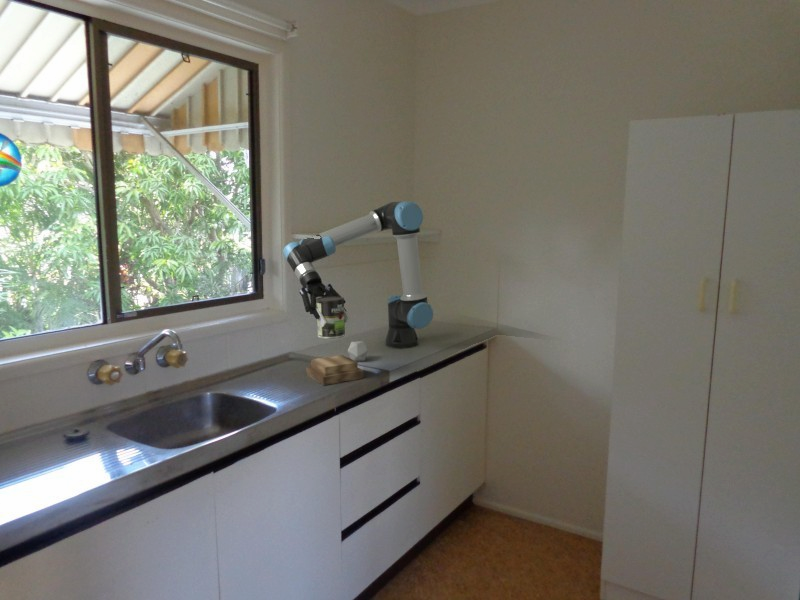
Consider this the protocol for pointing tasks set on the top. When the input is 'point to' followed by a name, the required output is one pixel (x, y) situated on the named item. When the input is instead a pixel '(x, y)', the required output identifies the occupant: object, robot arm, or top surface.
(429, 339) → the top surface
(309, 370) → the tower base
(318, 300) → the coffee can
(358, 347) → the die
